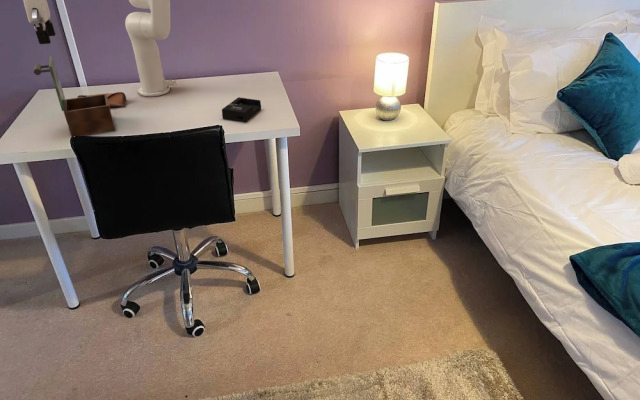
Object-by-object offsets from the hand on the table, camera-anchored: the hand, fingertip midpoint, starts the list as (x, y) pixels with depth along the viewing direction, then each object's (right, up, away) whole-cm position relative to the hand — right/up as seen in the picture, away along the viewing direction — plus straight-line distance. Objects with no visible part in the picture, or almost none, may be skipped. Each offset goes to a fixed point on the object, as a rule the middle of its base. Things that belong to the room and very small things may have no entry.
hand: (47, 39), depth 154 cm
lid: (-1, -12, +7) cm, 14 cm away
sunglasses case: (+1, -14, +36) cm, 39 cm away
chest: (+5, -25, +19) cm, 32 cm away
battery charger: (+57, -19, +28) cm, 67 cm away
